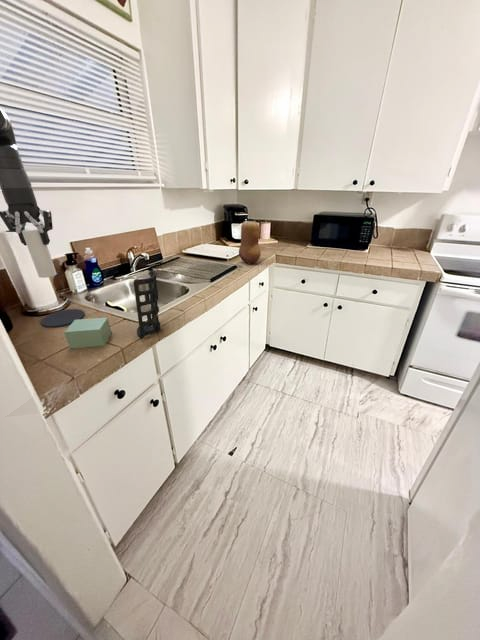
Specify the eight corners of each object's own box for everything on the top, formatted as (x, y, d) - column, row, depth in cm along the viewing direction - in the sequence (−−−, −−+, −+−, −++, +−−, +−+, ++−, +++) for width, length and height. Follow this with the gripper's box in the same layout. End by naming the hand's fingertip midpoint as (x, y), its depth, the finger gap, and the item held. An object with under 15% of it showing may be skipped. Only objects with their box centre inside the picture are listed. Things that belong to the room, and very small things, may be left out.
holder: (141, 321, 94) (137, 268, 85) (163, 322, 95) (160, 270, 86) (133, 338, 85) (127, 280, 75) (157, 339, 86) (153, 282, 76)
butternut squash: (264, 262, 165) (266, 221, 153) (251, 267, 156) (252, 223, 144) (247, 259, 173) (248, 219, 161) (234, 263, 164) (233, 221, 152)
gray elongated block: (42, 282, 91) (12, 262, 77) (46, 247, 95) (19, 221, 81) (58, 281, 91) (31, 261, 78) (62, 246, 95) (37, 221, 82)
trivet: (33, 329, 91) (32, 327, 90) (52, 311, 103) (52, 310, 103) (76, 326, 92) (75, 324, 92) (90, 309, 105) (89, 307, 104)
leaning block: (70, 348, 80) (64, 332, 77) (80, 335, 87) (74, 319, 84) (104, 346, 81) (99, 329, 78) (111, 333, 88) (107, 317, 85)
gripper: (-21, 186, 73) (5, 248, 81) (35, 186, 75) (55, 246, 83) (-3, 186, 79) (19, 243, 87) (48, 186, 81) (65, 241, 89)
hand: (36, 244), depth 85 cm, fingers closed on gray elongated block, 5 cm apart
